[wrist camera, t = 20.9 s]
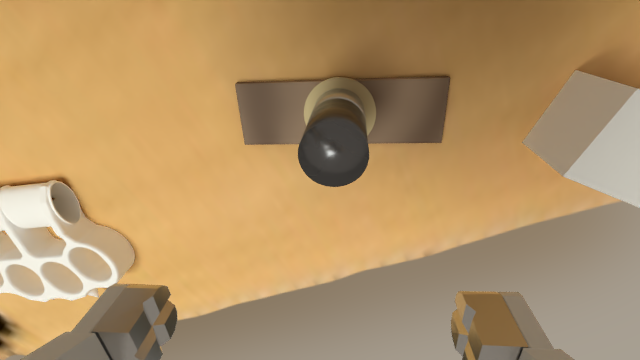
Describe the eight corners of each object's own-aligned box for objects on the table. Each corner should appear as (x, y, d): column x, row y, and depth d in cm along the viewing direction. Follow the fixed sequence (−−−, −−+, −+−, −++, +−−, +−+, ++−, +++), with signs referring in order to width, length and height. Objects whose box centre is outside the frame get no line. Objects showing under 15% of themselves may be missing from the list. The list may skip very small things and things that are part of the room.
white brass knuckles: (96, 170, 32) (154, 283, 38) (-57, 188, 35) (22, 291, 41) (70, 188, 29) (138, 307, 36) (-96, 206, 32) (-4, 313, 38)
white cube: (521, 141, 27) (562, 176, 21) (574, 69, 24) (637, 88, 18) (586, 169, 27) (642, 209, 22) (645, 101, 24) (726, 128, 19)
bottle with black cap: (314, 138, 27) (300, 186, 20) (311, 88, 25) (295, 122, 18) (364, 138, 27) (368, 187, 20) (365, 87, 25) (369, 120, 18)
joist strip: (247, 145, 29) (244, 148, 28) (236, 78, 26) (233, 80, 25) (439, 143, 27) (441, 147, 26) (448, 72, 24) (451, 74, 24)
